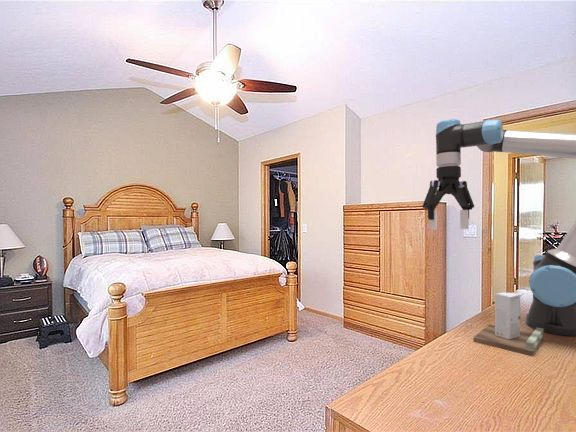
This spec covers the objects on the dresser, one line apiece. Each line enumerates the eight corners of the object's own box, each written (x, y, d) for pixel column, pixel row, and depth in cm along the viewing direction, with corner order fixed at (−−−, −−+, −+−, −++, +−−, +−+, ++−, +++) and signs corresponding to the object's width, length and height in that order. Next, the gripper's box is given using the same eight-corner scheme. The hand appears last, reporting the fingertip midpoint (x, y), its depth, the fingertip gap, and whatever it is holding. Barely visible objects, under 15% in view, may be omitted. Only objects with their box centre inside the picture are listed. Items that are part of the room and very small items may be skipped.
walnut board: (489, 328, 111) (489, 318, 111) (543, 339, 101) (543, 328, 101) (473, 341, 99) (473, 330, 99) (532, 356, 89) (533, 343, 89)
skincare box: (510, 340, 97) (511, 297, 97) (493, 335, 101) (494, 293, 101) (521, 336, 100) (522, 294, 100) (504, 331, 104) (505, 291, 104)
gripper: (467, 169, 126) (467, 228, 126) (410, 166, 117) (411, 229, 117) (485, 166, 119) (486, 228, 119) (427, 163, 110) (427, 230, 110)
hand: (449, 229), depth 118 cm, fingers open, 13 cm apart
